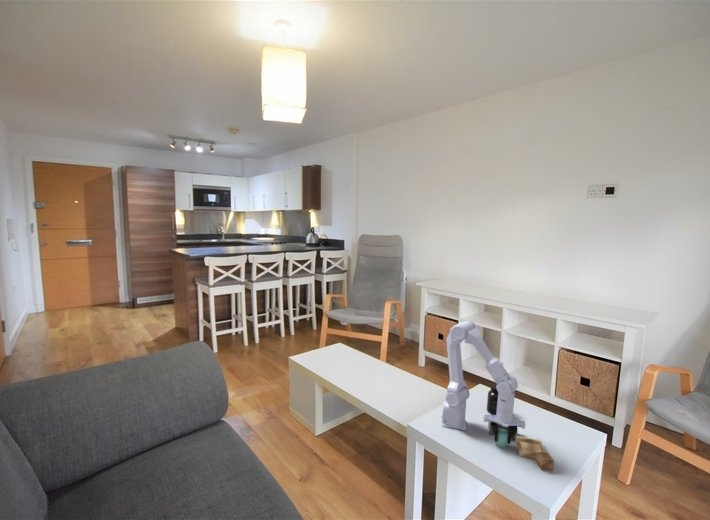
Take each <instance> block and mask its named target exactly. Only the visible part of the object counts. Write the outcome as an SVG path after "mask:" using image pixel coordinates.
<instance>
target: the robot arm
mask: <svg viewBox="0 0 710 520" xmlns="http://www.w3.org/2000/svg"><path fill="white" fill-rule="evenodd" d="M462 342H463V343H465V344H468V345H472V346H473V347H474V348H475V350H476V351H477V352H478V354H479V355H480V356H481V358H482V359H483V360H484V361H485V368H486V370H487V371H488V373H489V374H490V375H491V378H492V379H493V380H494V382H495V384H497V385H496V388H497V391H498V401H497V412H496V415H492V414H483V418H482V420H483V422H484V423H487V422H491V427H492V430H493V432H494V435H493V437H494V438H493V439H494V442H495V443H496V442H497V433H498V424H501V425H502V426H504V427H508V433H509V434H508V445H510V444H511V442H512V440H513V439H512V438H513V436H514V435H515V434H516V433H517V434H518V429H517V428H521V429H526V423H525V421H523V420H520V419H517V418H513V416H514V408H515V393H516V392H515V391H516V390H517V389H518V386H519V385H518V384H519V383H518V381H517V378H516V377H514V376H513V375H511V374H510V373H508V371H507V369H506V367H504V363H503V362H502V361H500V359H498V358H496V357H494V356H493V354H492V353H491V350H490V349H489V348H488V346H487V344H486V343H485V341H484V339H483V337H482V336H481V333H480V330H479V329H478V327H477V326H476V324H475V323H474V322H473V321H472V320H469V319H467V320H463V321H462V322H460V323H457V324H455V325H453V326H452V327H451V328H449V333H448V335H447V337H446V350H447V351H446V352H447V360H448V372H449V373H448V374H449V375H448V376H449V383H448V386H447V388H446V393H445V400H443V405H442V413H441V420H442V421H441V426H442V427H445V428H449V429H451V428H452V429H456V430H462V431H466V430H467V428H466V427H467V424H466V412H467V410H466V409H467V400H468V399H469V398H470V390H469V389H468V385H467V382H466V381H465V380H464V373H463V371H464V370H463V359H462V358H463V357H462V349H461V348H462V347H461V343H462ZM497 423H498V424H497Z"/></svg>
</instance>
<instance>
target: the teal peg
mask: <svg viewBox="0 0 710 520" xmlns="http://www.w3.org/2000/svg"><path fill="white" fill-rule="evenodd" d="M508 434H509V433H508V431H507V430H505V429H498V433H497V442H495V445H496V446H497V447H498V448H500V449H507V448H508V445H509V444H508Z"/></svg>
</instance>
